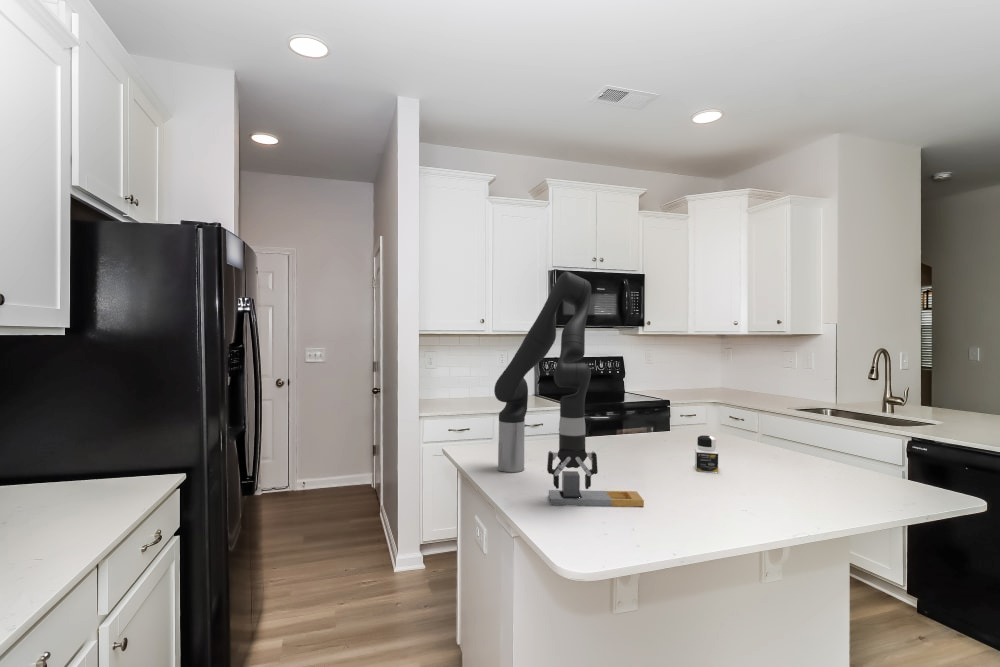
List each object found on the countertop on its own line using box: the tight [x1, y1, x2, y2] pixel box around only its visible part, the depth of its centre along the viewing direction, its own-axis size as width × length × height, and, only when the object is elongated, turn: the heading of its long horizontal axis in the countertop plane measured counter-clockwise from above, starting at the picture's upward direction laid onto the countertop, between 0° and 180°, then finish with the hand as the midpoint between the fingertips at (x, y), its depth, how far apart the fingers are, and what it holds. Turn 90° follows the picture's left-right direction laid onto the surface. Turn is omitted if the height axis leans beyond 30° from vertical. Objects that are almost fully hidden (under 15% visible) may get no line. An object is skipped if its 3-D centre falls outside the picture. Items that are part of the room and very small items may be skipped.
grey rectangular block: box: [561, 470, 581, 498], centre depth 145 cm, size 4×4×8 cm
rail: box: [548, 489, 645, 507], centre depth 145 cm, size 26×8×2 cm, turn 89°
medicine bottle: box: [694, 434, 719, 474], centre depth 180 cm, size 7×7×12 cm
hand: (572, 488), depth 145 cm, fingers open, 8 cm apart
